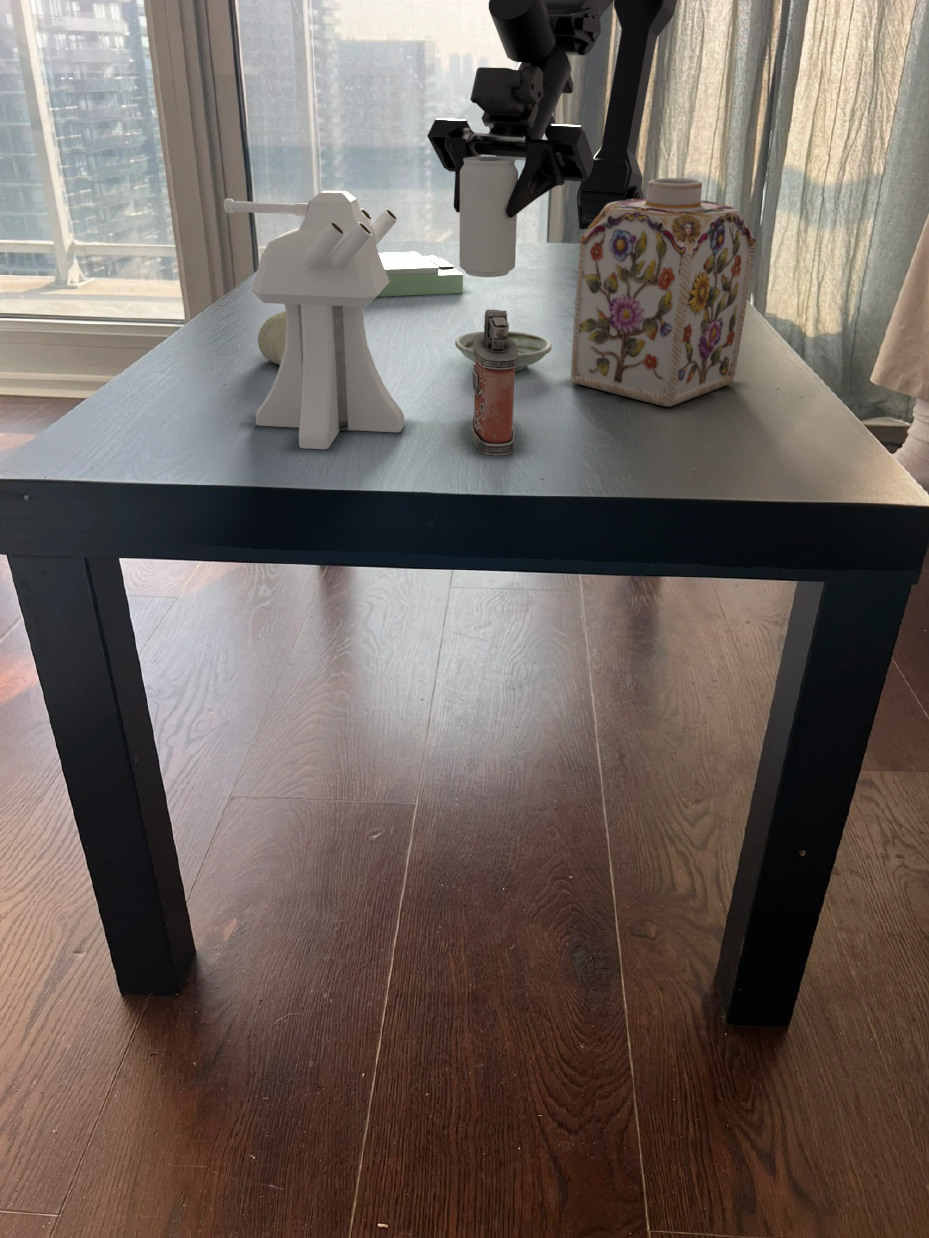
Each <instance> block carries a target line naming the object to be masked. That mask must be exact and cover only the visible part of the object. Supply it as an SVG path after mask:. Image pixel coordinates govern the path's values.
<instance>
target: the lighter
mask: <svg viewBox="0 0 929 1238" xmlns="http://www.w3.org/2000/svg"><path fill="white" fill-rule="evenodd" d="M483 331H484V334H478V335H476V336H475V337H474V340H473V356H474V357H475V362H474V364H473V365H472V381H471V383H472V389H473V391H474V398H473V399H474V401H473V402H474V403H473V416H472V419H471V426H470V427H471V428H470V434H471V440H472V442H473V444H474V446H475V447H476V448H477V450H478V451H479V452H481V453H482V454H483V455H484V454H485V455H488V456H505V455H510V454H512V453H513V452H514V447H515V428H514V425H513V424H514V423H513V421H514V420H513V419H514V399H515V398H514V397H515V394H514V393H515V375H516V374H515V373H516V371H515V367H516V366H517V362H518V348H517V345H516V344H515V343H514V341H513V340H511V339H510V338H509V337H508V333H509V331H510V324H509V322H508V313H507V310H500V309H486V310H485V312H484V323H483Z"/></svg>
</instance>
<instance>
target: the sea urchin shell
mask: <svg viewBox="0 0 929 1238" xmlns="http://www.w3.org/2000/svg"><path fill="white" fill-rule="evenodd" d="M285 338H286V314H285V310H283V311H280V312H277V313H276V314H274V315H272V316H270V317H269V318H268V319H266V321H265V322H264V323H263V324H262V325H261V327H260V328H259V331H258V335H257V344H258V348H259V350H260V352H261V354H262V356H263V357H265V359H266V360H269V361H270V362H272V363H273V364H276V365H279V366H280V364H281V360H282V357H283V353H284V350H285Z"/></svg>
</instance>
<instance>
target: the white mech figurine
mask: <svg viewBox="0 0 929 1238" xmlns="http://www.w3.org/2000/svg"><path fill="white" fill-rule="evenodd" d="M223 210H224V212H225V213H226V214H234V212H235V213H236V212H237V213H255V214H258V213H259V214H273V215H274V214H275V215H291V216H292V215H293V216H294V215H295V217H304V218H303V220H302V222H301V224H300V226H299V227H295V228H293V229H290V230H287V231H286V232H284V233H282V234H280V235H278V236H277V237H275V238H273V239H272V240H270V241H268V243H267V245H266V247H265V248H264V250H263V252H262V253H261V257H260V260H259V262H258V263H259V264H258V267H257V270H256V274H255V278H254V280H253V285H252V287H251V292H252V293H253V294H254V295H255V296H256V297H257V298H258V299H259V300H260V301H261V302H262V303H263V304H280V305H281V304H282V305H284V311H285V314H286V338H285V350H284V353H283V357H282V360H281V364H280V365H279V368H278V370H277V373H276V376H275V378H274V381H273V384H272V386H271V389H270V390H269V392H268V393H267V395H266V398H264V400H263V402H262V403H261V405H260V406H259V407H258V409H257V410H256V413H255V423H256V424H255V425H256V426H258V427H259V426H260V427H279V428H298V445H299V446H298V447H299V448H300V449H307V450H308V449H310V450H328V449H329V448H330V447H331V445H332V444H333V442H334V441H335V439H336V437H338V434H339V433H340V432H343V431H357V432H358V431H359V432H378V433H379V432H381V433H401V432H402V430H403V428H404V426H405V415H404V412H403V410H402V408H400V406H399V405H398V403H397V402H396V401H395V400H394V398H393V396H392V395H391V394H390V392H389V390H388V389H387V387H386V386H385V384H384V382H383V380H382V377H381V376H380V374H379V371H378V369H377V367H376V365H375V362H374V359H373V356H372V354H371V351H370V348H369V345H368V341H367V333H366V329H365V328H366V327H365V323H364V322H365V321H364V308H367V307H368V306H369V305H370V304H371V303H372V302H373V301H374V300H375V299H376V298H378V297H377V296H378V294H379V293H380V292H381V291H382V290H383V289H384V288H385V286H386V285H387V284H388V283H389V282H390V281H389V278H388V276H387V273H386V271H385V268H384V266H383V263H382V260H381V258H380V255H379V253H380V252H379V251H378V248H377V245H378V244H379V243H380V242H381V241H382V239H383V238H384V237H385V236H386V234H388V232H389V231H390V230H391V229H392V228H393V226H394V225H395V224H396V223H397V222H398V218H397V216H396V215H395V214H394V213H393V212H392V211H391V210H389V209H388V208H385V209H384V210H383V211H382V213H381V214H379V216H378V217H377V218H376V219H375V220H374V222H373V223H372V224H371V222H372V221H373V218H372V216H371V215H370V213H368V212H367V211H366V210H365V209H364V208H361V207H360V204H359V202H358V198H357V197H356V196H354V195H352V194H351V193H350V192H348V191H347V190H326V189H325V190H322V191H320V192H318V194H316V195H315V196H314V197H313V198H311V199H310V200H309V201H308V202H295V203H282V202H281V203H280V202H263V201H261V202H260V201H242V200H234V199H233V198H225V199H224V200H223Z"/></svg>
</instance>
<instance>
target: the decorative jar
mask: <svg viewBox="0 0 929 1238" xmlns="http://www.w3.org/2000/svg"><path fill="white" fill-rule="evenodd" d="M702 191H703V181H701V180H699V179H696V178H690V177H689V178H687V177H664V178H663V177H661V178H654V179H650V180H649V181H648V183H647V191H646V197H644V198H639V199H631V200H630V199H627V200H625V201H616V202H611V203H608V204H607V205H606V206H605V207H604V208H603V209H602V211H601V212H600V213H599V214H598V216H597V217H596V218H595V219H594V221H593V222H592V223H591V224H590V225H589V227H588V228H587V229H585V231H584V233H583V234H582V235H581V236H580V241H579V253H578V264H577V277H576V288H575V300H574V314H573V315H574V316H573V325H572V326H573V327H572V328H573V329H572V344H571V365H570V382H571V384H575V385H580V386H582V387H587V388H591V389H595V390H599V391H602V392H606V393H610V394H614V395H617V396H622V397H626V398H629V399H632V400H636V401H641V402H644V403H649V404H652V405H657V406H660V407H664V408H671V407H673V406H677V405H678V404H681V403H683V402H687V401H690V400H692V399H694V398H697V397H700V396H702V395H705V394H708V393H710V392H713V391H716V390H718V389H721V388H723V387H726V386H729V385H731V384H732V383H733V382H734V380H735V376H736V372H737V367H738V359H739V355H740V354H739V353H740V348H741V341H742V336H743V330H744V329H743V328H744V323H745V316H746V310H747V309H746V308H747V304H748V303H747V302H748V294H749V286H750V279H751V271H752V267H753V266H752V264H753V259H754V252H755V244H756V238H755V237H754V236H753V233H752V231H751V228H750V226H749V225H748V224H747V222H746V221H745V219H744V217H743V216H742V214H741V212H740V211H739V210H737V209H736V208H734V207H733V206H731V205H728V204H722V203H719V202H714V201H710V200H702Z"/></svg>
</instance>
